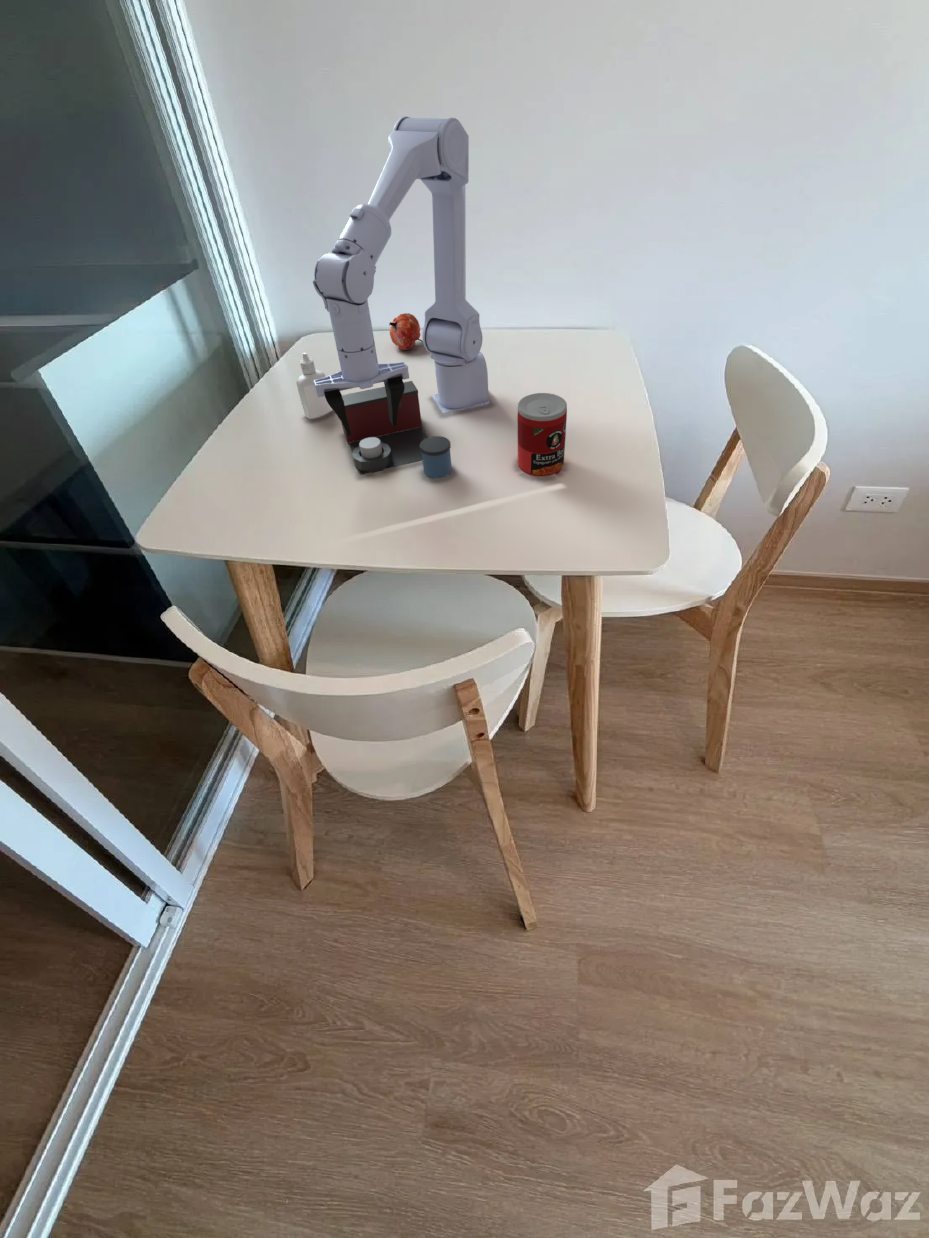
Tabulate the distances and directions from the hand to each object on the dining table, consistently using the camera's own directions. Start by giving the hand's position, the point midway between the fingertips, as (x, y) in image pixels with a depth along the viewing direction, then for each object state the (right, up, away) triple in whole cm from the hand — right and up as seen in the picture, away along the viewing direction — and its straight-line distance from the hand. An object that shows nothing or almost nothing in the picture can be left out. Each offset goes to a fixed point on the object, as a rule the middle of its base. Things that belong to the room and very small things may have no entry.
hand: (371, 427), depth 102 cm
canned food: (+28, -6, +2) cm, 29 cm away
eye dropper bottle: (-13, +8, +19) cm, 25 cm away
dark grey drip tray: (+3, -2, +8) cm, 8 cm away
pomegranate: (+3, +30, +39) cm, 49 cm away
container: (+11, -7, +2) cm, 13 cm away
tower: (0, +3, +13) cm, 13 cm away
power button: (0, -3, +4) cm, 5 cm away
